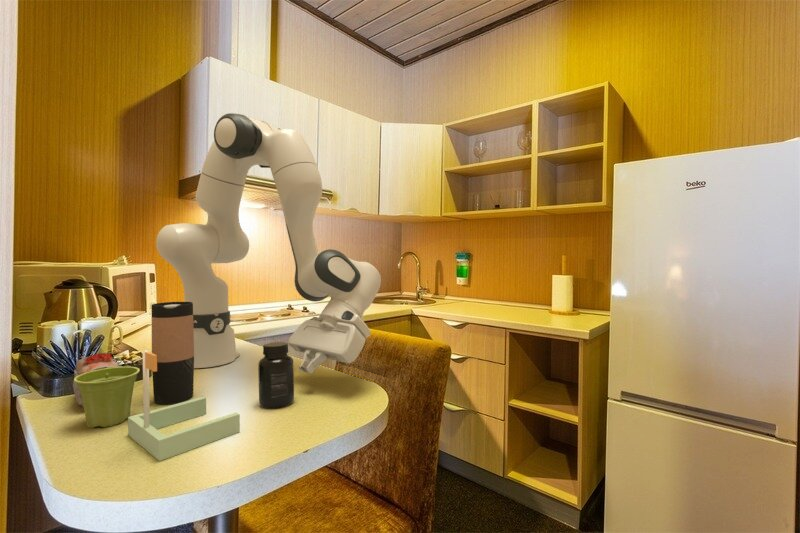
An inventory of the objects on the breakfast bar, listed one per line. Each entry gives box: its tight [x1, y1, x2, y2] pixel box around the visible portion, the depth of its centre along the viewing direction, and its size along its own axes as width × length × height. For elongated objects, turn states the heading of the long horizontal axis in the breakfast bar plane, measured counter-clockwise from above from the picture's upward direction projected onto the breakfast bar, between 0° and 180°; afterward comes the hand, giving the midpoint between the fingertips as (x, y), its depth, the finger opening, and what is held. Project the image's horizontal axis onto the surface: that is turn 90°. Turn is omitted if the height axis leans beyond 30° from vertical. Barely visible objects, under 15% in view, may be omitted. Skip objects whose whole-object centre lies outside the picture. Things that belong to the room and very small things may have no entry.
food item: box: [72, 352, 121, 409], centre depth 80 cm, size 14×8×10 cm, turn 46°
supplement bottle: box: [257, 341, 295, 409], centre depth 78 cm, size 7×7×12 cm
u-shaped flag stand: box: [127, 349, 241, 462], centre depth 65 cm, size 13×12×15 cm
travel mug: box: [151, 301, 195, 406], centre depth 81 cm, size 8×8×20 cm
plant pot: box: [73, 366, 140, 428], centre depth 70 cm, size 9×9×9 cm
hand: (305, 371), depth 84 cm, fingers closed
